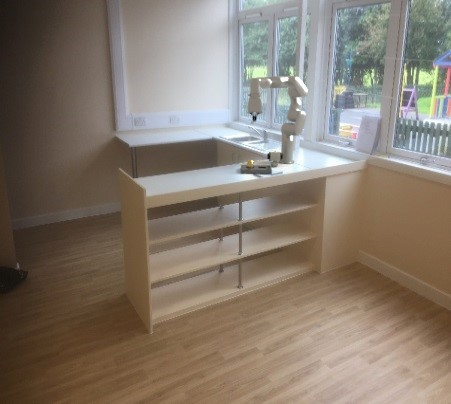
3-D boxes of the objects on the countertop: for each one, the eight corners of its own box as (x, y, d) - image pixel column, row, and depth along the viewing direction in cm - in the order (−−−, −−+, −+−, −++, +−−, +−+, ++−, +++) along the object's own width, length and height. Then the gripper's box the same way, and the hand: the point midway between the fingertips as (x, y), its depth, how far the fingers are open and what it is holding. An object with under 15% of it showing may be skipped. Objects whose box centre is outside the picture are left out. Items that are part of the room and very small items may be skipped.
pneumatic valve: (266, 165, 330) (267, 150, 326) (281, 165, 330) (282, 150, 327) (267, 167, 325) (268, 151, 321) (282, 167, 325) (283, 151, 322)
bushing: (246, 170, 313) (247, 159, 311) (252, 170, 313) (253, 160, 311) (246, 171, 309) (247, 161, 306) (252, 172, 309) (253, 161, 306)
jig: (240, 168, 319) (241, 164, 318) (270, 169, 318) (270, 165, 317) (240, 173, 303) (241, 169, 303) (271, 174, 303) (271, 170, 302)
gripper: (244, 95, 301) (244, 122, 306) (265, 96, 301) (264, 122, 306) (244, 95, 308) (244, 120, 314) (265, 95, 308) (264, 121, 313)
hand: (254, 121), depth 310 cm, fingers closed
